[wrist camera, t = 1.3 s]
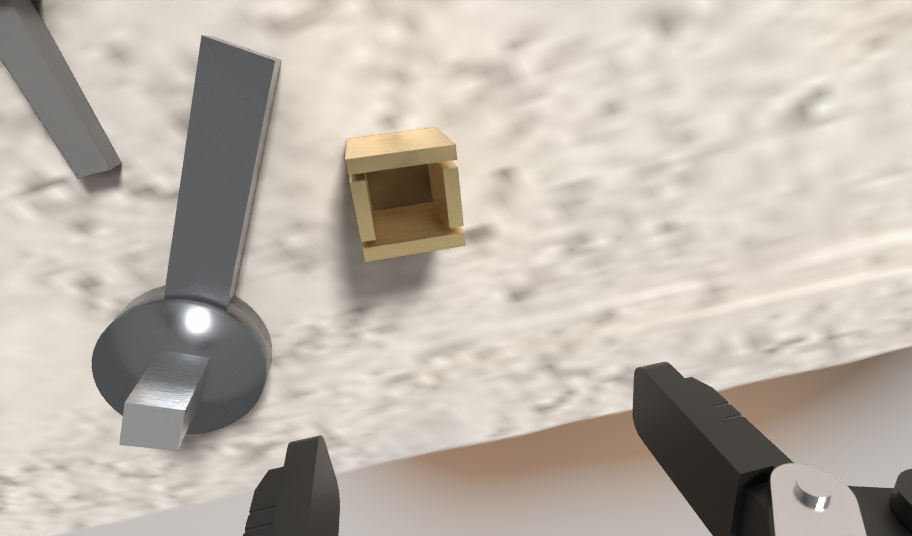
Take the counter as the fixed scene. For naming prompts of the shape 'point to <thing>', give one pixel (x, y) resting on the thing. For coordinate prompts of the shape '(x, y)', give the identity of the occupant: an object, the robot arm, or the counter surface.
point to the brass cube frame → (412, 223)
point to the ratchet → (199, 272)
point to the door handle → (52, 89)
